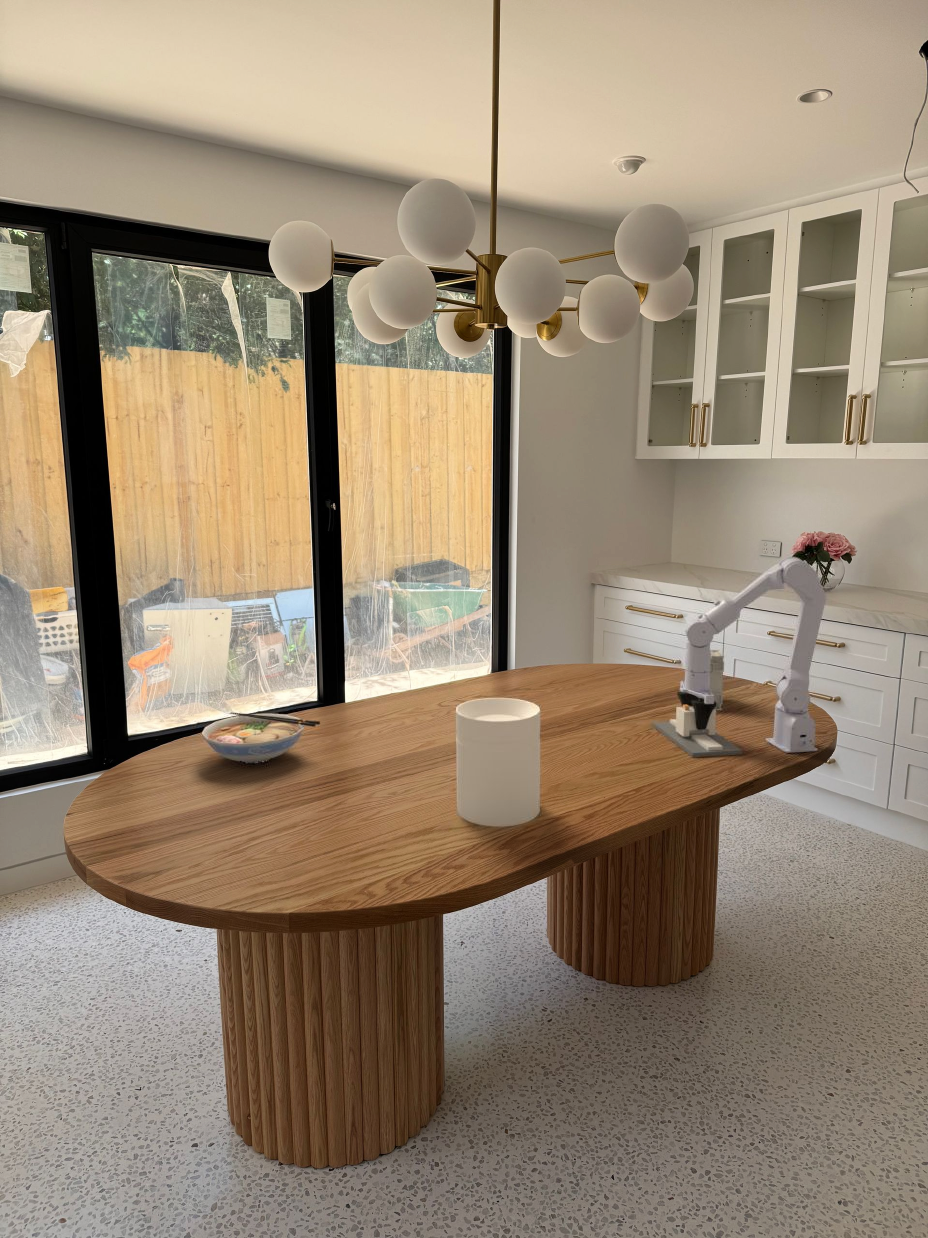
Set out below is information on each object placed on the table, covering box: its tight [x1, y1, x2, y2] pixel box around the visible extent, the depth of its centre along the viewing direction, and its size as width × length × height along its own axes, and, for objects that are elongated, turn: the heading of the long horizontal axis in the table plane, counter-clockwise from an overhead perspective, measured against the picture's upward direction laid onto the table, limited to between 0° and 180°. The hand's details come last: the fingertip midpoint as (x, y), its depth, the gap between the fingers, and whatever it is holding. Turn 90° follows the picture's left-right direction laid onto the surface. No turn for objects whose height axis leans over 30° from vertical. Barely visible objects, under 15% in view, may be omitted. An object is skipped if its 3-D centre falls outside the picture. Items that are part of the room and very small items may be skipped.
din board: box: [651, 718, 743, 758], centre depth 198 cm, size 24×12×2 cm, turn 9°
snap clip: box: [689, 730, 703, 734], centre depth 198 cm, size 3×2×1 cm
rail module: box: [675, 705, 717, 737], centre depth 198 cm, size 4×8×7 cm, turn 99°
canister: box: [455, 697, 541, 828], centre depth 156 cm, size 16×16×20 cm
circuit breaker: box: [709, 649, 725, 711], centre depth 229 cm, size 8×14×15 cm, turn 174°
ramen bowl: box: [201, 711, 321, 764], centre depth 187 cm, size 25×23×8 cm
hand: (695, 725), depth 198 cm, fingers open, 6 cm apart
